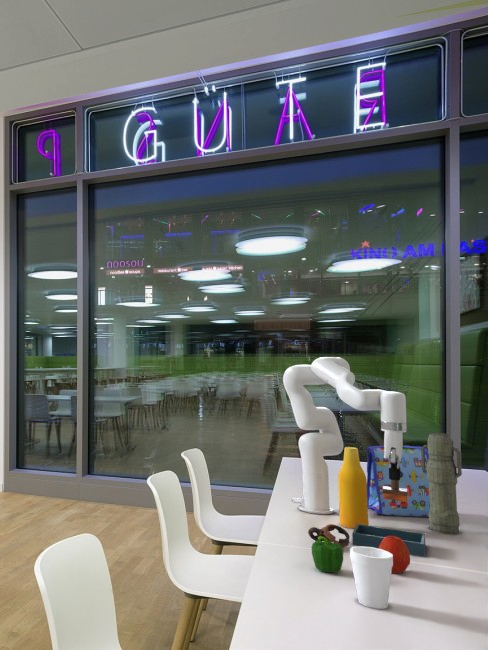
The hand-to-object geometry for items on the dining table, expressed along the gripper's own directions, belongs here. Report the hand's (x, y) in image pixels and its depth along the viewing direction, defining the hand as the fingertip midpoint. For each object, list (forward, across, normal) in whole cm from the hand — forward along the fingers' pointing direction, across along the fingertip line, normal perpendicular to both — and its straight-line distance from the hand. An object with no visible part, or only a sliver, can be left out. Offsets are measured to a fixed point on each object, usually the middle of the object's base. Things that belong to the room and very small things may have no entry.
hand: (394, 478), depth 212 cm
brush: (+7, 0, 0) cm, 7 cm away
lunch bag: (+21, -40, 0) cm, 45 cm away
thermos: (+20, -20, +14) cm, 31 cm away
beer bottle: (+21, -6, -13) cm, 25 cm away
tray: (+20, +13, -1) cm, 24 cm away
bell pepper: (+20, +52, -14) cm, 58 cm away
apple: (+20, +41, +2) cm, 46 cm away
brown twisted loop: (+20, +27, -17) cm, 38 cm away
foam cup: (+20, +72, -1) cm, 75 cm away
